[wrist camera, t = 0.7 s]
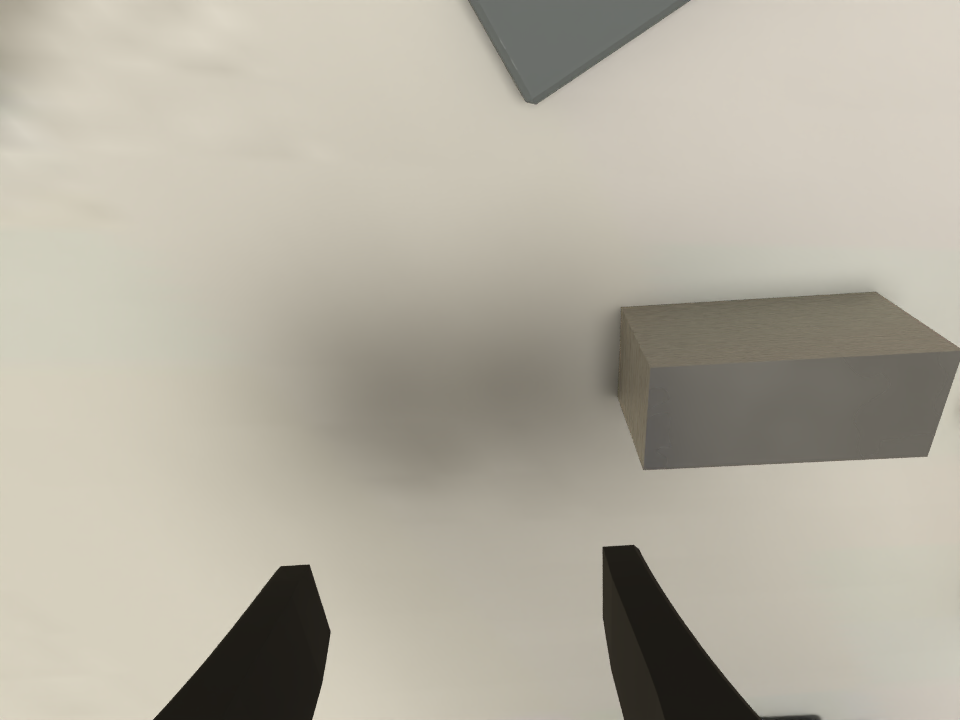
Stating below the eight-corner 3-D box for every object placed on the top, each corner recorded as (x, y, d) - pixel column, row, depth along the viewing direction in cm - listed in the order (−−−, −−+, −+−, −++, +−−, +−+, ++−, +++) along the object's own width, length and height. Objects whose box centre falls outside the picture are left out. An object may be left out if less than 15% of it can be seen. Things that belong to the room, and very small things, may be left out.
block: (850, 382, 21) (927, 456, 17) (616, 394, 21) (643, 470, 18) (873, 290, 19) (963, 350, 16) (620, 305, 20) (650, 367, 16)
